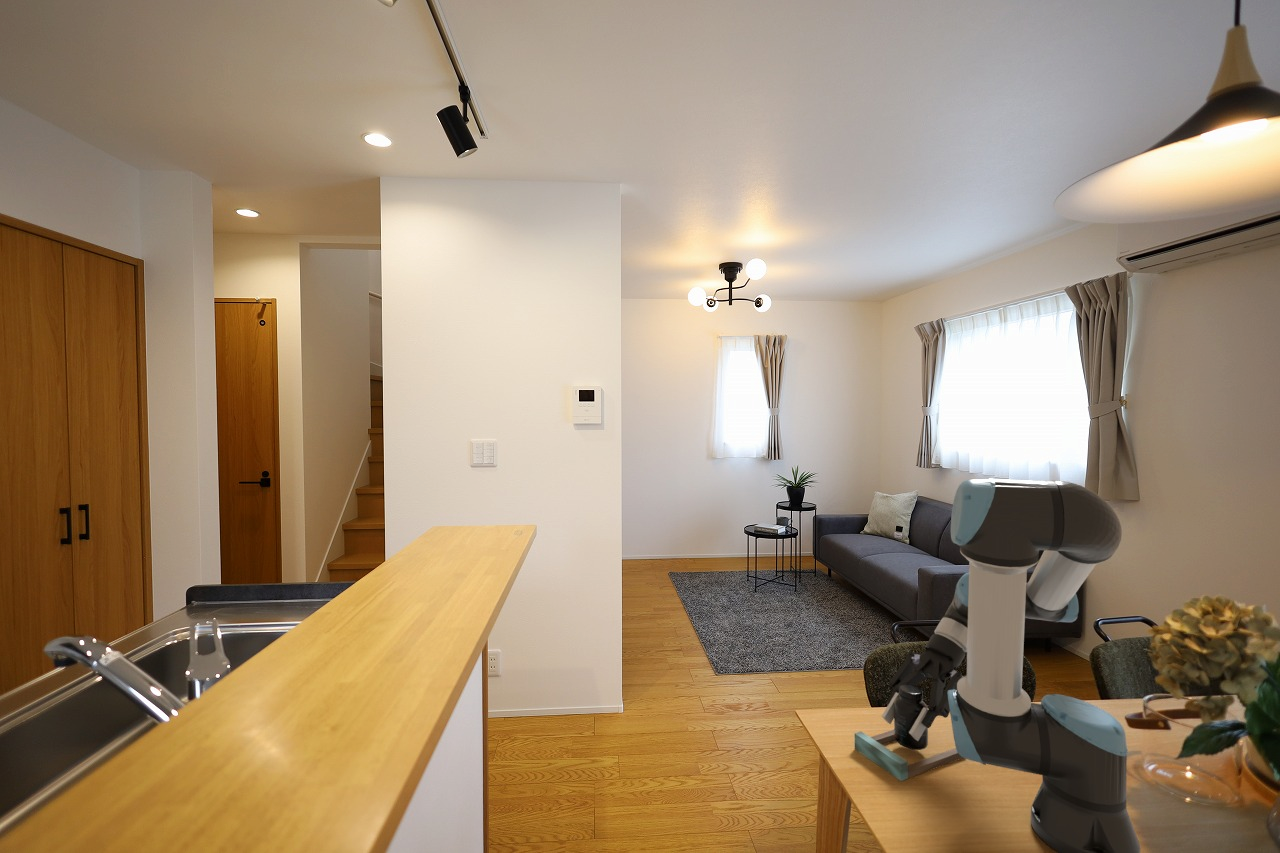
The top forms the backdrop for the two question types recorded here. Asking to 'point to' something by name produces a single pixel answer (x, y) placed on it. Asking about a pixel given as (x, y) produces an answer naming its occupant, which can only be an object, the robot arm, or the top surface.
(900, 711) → the supplement bottle
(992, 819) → the top surface
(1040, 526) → the robot arm
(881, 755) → the channel
